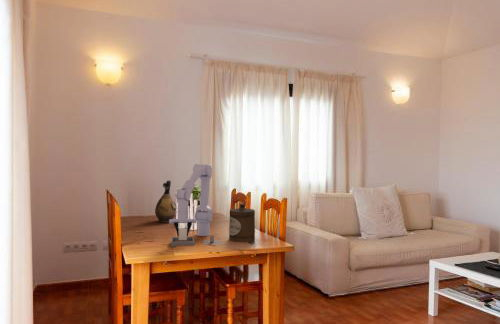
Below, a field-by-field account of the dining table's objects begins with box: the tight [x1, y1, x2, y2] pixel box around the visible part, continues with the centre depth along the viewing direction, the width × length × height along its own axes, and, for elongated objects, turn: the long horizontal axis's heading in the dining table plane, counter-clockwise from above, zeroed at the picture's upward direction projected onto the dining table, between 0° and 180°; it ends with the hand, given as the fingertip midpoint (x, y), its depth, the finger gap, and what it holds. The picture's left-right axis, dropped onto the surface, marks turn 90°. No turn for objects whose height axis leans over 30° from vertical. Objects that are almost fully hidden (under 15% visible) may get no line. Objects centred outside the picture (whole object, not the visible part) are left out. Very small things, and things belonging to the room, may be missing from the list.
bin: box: [170, 236, 195, 249], centre depth 218 cm, size 12×12×3 cm
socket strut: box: [178, 226, 188, 241], centre depth 218 cm, size 4×4×6 cm
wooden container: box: [228, 202, 256, 244], centre depth 230 cm, size 15×15×22 cm
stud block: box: [201, 234, 223, 246], centre depth 220 cm, size 12×10×5 cm
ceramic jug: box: [154, 180, 177, 223], centre depth 292 cm, size 17×15×30 cm
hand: (182, 236), depth 218 cm, fingers closed on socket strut, 4 cm apart
